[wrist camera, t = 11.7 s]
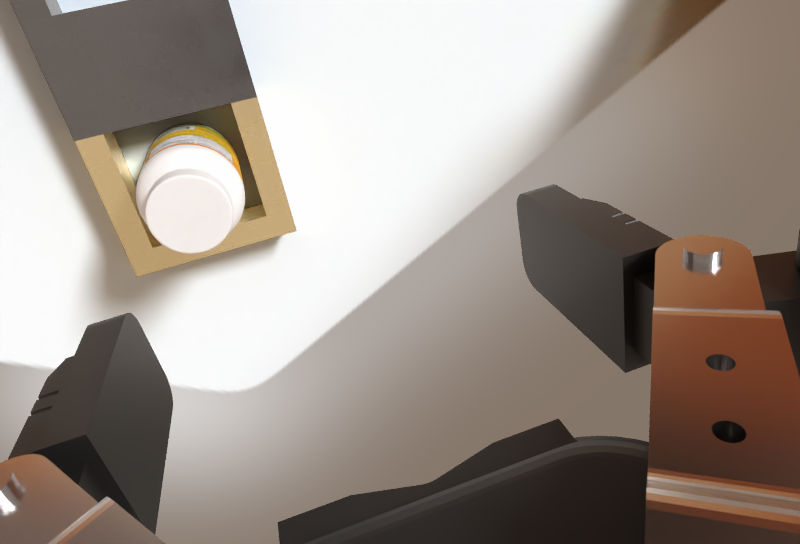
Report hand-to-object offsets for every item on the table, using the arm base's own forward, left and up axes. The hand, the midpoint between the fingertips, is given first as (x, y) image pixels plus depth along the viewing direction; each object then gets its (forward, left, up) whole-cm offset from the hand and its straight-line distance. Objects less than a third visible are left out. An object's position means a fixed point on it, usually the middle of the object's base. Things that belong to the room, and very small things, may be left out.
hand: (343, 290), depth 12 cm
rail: (+5, -4, -27) cm, 28 cm away
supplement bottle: (+5, +3, -27) cm, 28 cm away
